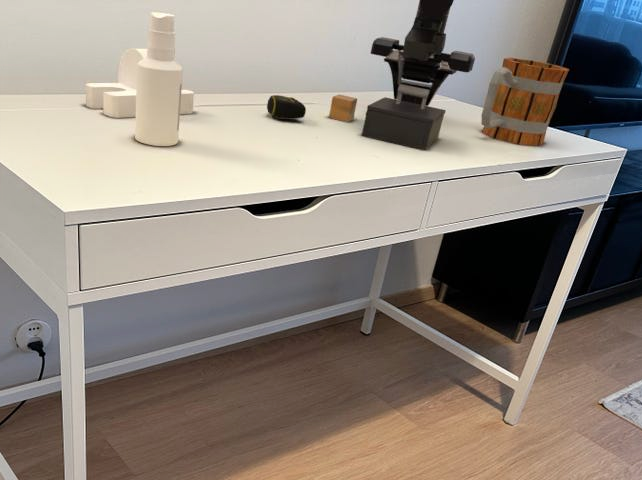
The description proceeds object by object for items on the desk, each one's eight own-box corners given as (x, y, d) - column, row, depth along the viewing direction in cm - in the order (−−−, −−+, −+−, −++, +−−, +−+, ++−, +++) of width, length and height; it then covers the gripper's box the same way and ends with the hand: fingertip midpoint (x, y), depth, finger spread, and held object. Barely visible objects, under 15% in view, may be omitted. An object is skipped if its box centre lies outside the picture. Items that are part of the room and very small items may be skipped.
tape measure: (304, 123, 130) (308, 103, 128) (272, 121, 127) (275, 101, 125) (292, 115, 135) (295, 95, 133) (261, 112, 133) (264, 93, 131)
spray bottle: (184, 141, 107) (193, 17, 97) (166, 149, 101) (174, 19, 92) (146, 132, 108) (152, 9, 99) (126, 140, 103) (130, 10, 93)
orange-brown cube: (334, 114, 141) (338, 94, 138) (353, 119, 139) (357, 98, 137) (328, 117, 137) (332, 96, 135) (347, 122, 136) (351, 100, 134)
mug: (506, 128, 153) (528, 58, 145) (556, 144, 144) (583, 71, 137) (451, 130, 143) (471, 55, 135) (501, 148, 134) (527, 69, 126)
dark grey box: (378, 125, 137) (383, 101, 135) (437, 138, 134) (444, 114, 131) (361, 135, 127) (366, 109, 124) (425, 150, 123) (432, 124, 121)
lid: (384, 100, 135) (389, 78, 133) (444, 113, 132) (450, 90, 129) (366, 109, 124) (371, 85, 122) (432, 123, 121) (438, 99, 119)
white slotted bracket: (195, 113, 124) (199, 54, 119) (112, 118, 113) (113, 53, 108) (164, 101, 130) (167, 44, 125) (83, 104, 119) (82, 42, 113)
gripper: (372, 5, 117) (354, 97, 125) (477, 23, 112) (451, 118, 120) (387, 4, 126) (369, 90, 134) (485, 21, 121) (460, 110, 129)
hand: (411, 102), depth 129 cm, fingers closed on lid, 6 cm apart
